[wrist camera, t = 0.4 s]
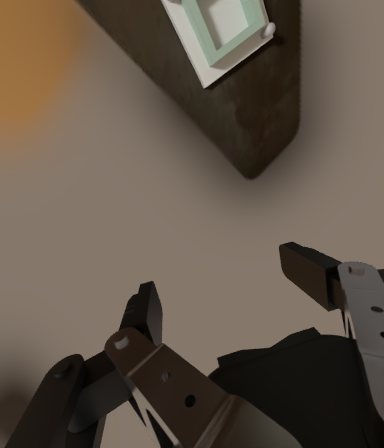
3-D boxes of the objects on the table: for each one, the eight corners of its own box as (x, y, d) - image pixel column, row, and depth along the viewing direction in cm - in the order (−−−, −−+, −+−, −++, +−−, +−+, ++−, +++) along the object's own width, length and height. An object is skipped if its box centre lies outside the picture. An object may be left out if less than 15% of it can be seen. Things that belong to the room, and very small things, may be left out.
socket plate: (158, -5, 26) (159, -21, 23) (237, -73, 24) (249, -99, 21) (203, 88, 32) (208, 86, 29) (270, 39, 30) (282, 31, 27)
